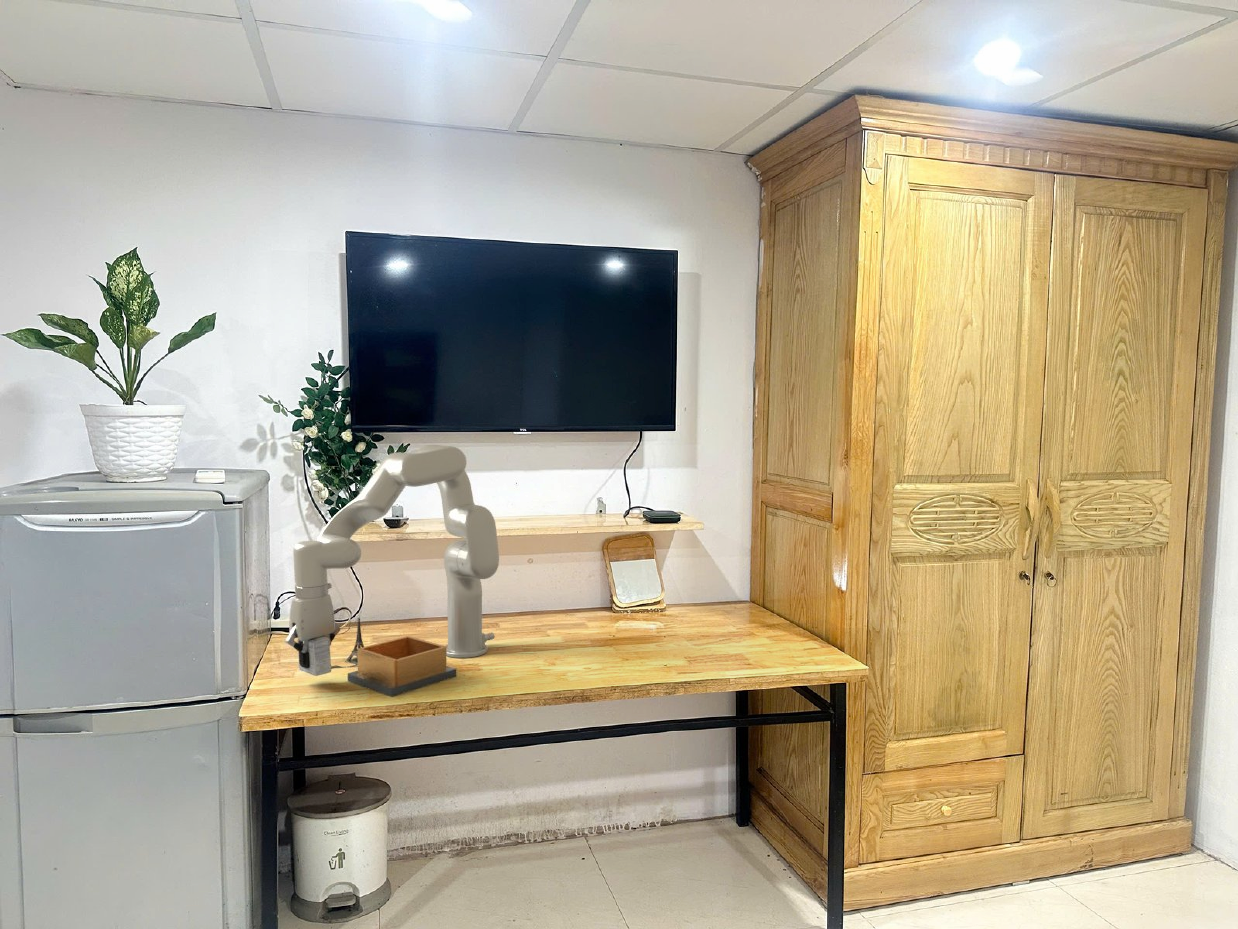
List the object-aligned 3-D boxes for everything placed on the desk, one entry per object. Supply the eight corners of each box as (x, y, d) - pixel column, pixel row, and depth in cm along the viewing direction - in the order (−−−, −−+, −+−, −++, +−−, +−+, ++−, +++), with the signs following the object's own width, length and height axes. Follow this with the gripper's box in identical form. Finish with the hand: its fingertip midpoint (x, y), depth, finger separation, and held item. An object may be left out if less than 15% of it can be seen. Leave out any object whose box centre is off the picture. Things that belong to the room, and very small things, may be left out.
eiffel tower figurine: (328, 671, 226) (327, 621, 225) (330, 659, 236) (329, 611, 235) (387, 666, 230) (387, 617, 229) (386, 656, 240) (386, 608, 239)
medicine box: (331, 672, 211) (330, 638, 210) (314, 677, 208) (313, 642, 207) (315, 666, 216) (313, 632, 215) (298, 670, 213) (297, 636, 212)
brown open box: (412, 662, 232) (411, 633, 231) (456, 676, 220) (456, 645, 220) (347, 681, 216) (347, 650, 215) (391, 696, 205) (391, 664, 204)
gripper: (333, 583, 219) (336, 653, 221) (270, 596, 206) (274, 670, 207) (350, 587, 214) (353, 658, 216) (287, 600, 201) (291, 676, 203)
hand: (314, 663), depth 212 cm, fingers closed on medicine box, 4 cm apart
